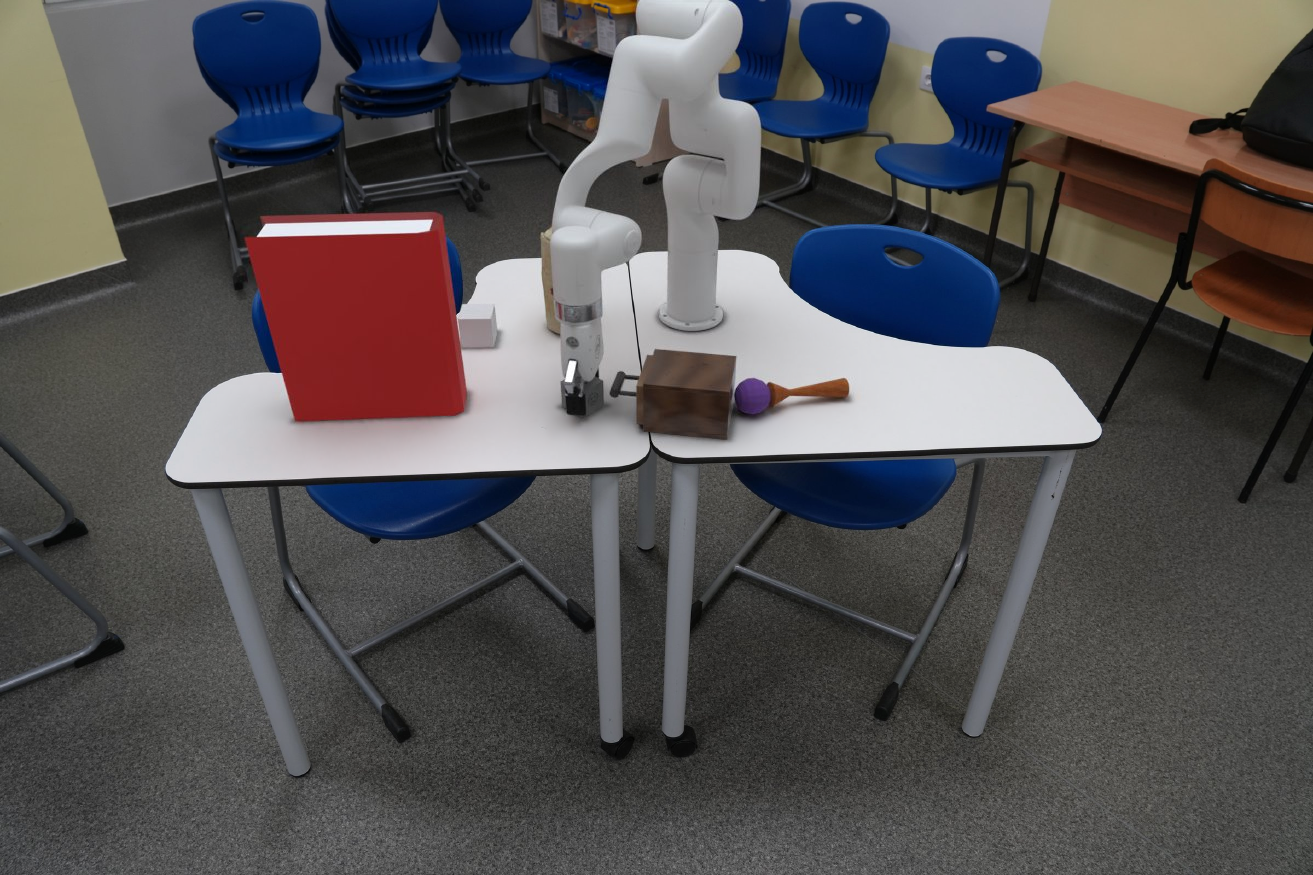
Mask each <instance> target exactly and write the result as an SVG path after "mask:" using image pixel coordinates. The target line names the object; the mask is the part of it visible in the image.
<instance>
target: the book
mask: <svg viewBox="0 0 1313 875" xmlns="http://www.w3.org/2000/svg"><path fill="white" fill-rule="evenodd" d="M259 217H260V221H261V225H262V229H261V230H260V231H259V233H258V234H257V236H244V241H245V245H246V248H247V252H248V256H249V260H250V263H251V266H252V270H253V273H254V277H255V282H256V285H257V289H258V292H259V296H260V299H261V303H262V306H263V310H264V313H265V317H266V320H267V324H268V327H269V329H268V330H269V331H270V332H269V333H270V336H271V339H272V343H273V347H274V351H275V353H276V357H277V361H278V365H279V369H280V371H281V372H280V373H281V375H282V380H283V382H284V385H285V390H286V394H287V397H288V398H287V399H288V401H289V404H290V408H291V412H292V416H293V419H294V422H319V421H320V422H321V421H322V422H323V421H345V420H346V421H347V420H371V419H397V418H399V419H401V418H423V417H424V418H425V417H450V416H457V415H459V414H461V413H464V412H465V409H466V403H467V398H468V389H467V388H468V387H467V381H466V375H465V367H464V361H463V354H462V353H463V352H462V346H461V338H460V331H459V324H458V318H457V311H456V310H457V309H456V302H455V296H454V295H455V294H454V288H453V281H452V274H451V267H450V258H449V252H448V245H447V237H446V230H445V223H444V214H440V213H438V212H436V211H420V212H419V211H415V212H377V213H376V212H373V213H335V214H334V213H333V214H327V213H326V214H292V215H291V214H290V215H289V214H288V215H260V216H259Z"/></svg>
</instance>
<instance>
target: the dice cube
mask: <svg viewBox="0 0 1313 875" xmlns="http://www.w3.org/2000/svg"><path fill="white" fill-rule="evenodd" d="M576 376H579V377H581V375H580V373H576ZM559 383H560V397H561V407H562V408H563V409H565V410H566V399H565V385H564V383H565V378H563V379H562V380H560V382H559ZM579 384H580V381H575V386H577V387H578V388H579ZM604 386H605V385H604V380H603V379H601V378H600V377H599V378H597V377H594V378H593V380H591V381H590V382H588V381H585V382H584V391H583V394H585V397H586V415H585V416H579V415H577V416H578V417H580V418H582V419H585V417H587V416H589V415H591V414H592V413H594V412H596V411H598V410H600V409H601V408H603V407H604V406H605V390H604Z"/></svg>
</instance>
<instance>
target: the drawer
mask: <svg viewBox="0 0 1313 875" xmlns="http://www.w3.org/2000/svg"><path fill="white" fill-rule="evenodd" d="M652 356H653V354H647V355H646V356H645V360H644V363H643V365H642V368H641V371H640V373H639V375H635V374H626V372H625V371H623V370H619V371H617V372H616V375H615V376H614V380H613V382H612V384H611V387H610V390H609V392H608V394H609V396H610V397H611V398H612V399H617V398H619V397H620V396H623V397H633V398H636V400H635V404H636V405H635V406H636V407H635V410H636V413H635V414H636V415H635V416H636V425H642V426H643V382H644V379H645V376H646V374H647V371H648V368H649V365H650V362H651V359H652ZM625 380H628V381H629V380H630V381H637V382H636V385H635V391H631V390H629V391H628V390H622V389H623V385H624V383H625Z"/></svg>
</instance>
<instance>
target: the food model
mask: <svg viewBox="0 0 1313 875" xmlns="http://www.w3.org/2000/svg"><path fill="white" fill-rule="evenodd" d="M551 236H552V226H550V227H549V228H548V229H547V230H546V231H545V232H543V231H541V233H540V252H541V253H540V254H541V255H540V256H541V271H540V272H541V283H542V289H543V290H542V291H543V300H544V310H545V311H544V312H545V321H546V325H547V328H548V329H549V330H550V331H551V332H553V333H556V334H559V335H560V334H561V322H559V321H558V320H557V319H556V318H555V309H554V294H553V281H552V267H551V253H550V239H551Z"/></svg>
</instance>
